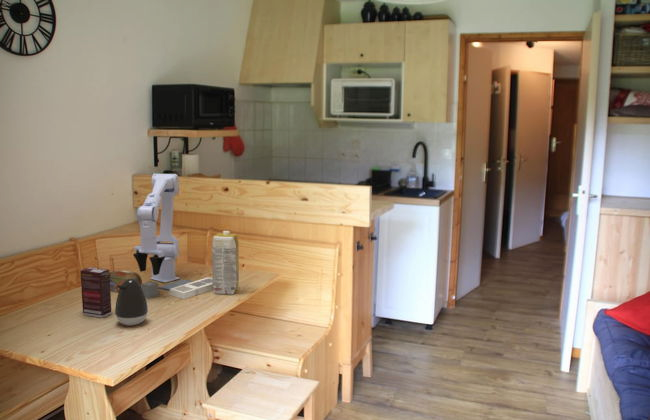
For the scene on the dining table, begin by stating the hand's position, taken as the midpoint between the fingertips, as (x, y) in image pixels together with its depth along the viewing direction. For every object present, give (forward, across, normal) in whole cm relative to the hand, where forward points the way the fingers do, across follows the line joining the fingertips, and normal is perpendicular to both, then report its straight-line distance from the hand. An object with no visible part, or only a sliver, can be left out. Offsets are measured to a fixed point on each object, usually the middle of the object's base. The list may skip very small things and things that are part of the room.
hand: (149, 272), depth 215 cm
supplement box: (+9, +2, -24) cm, 26 cm away
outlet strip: (+9, +9, +17) cm, 21 cm away
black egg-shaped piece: (+9, +18, -22) cm, 30 cm away
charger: (+9, 0, 0) cm, 9 cm away
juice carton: (+9, +19, +21) cm, 30 cm away
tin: (+9, -11, -3) cm, 15 cm away
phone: (+10, -2, +15) cm, 18 cm away
